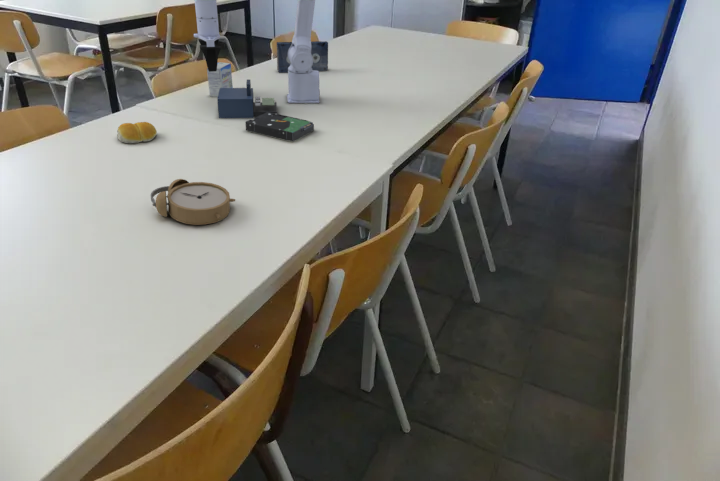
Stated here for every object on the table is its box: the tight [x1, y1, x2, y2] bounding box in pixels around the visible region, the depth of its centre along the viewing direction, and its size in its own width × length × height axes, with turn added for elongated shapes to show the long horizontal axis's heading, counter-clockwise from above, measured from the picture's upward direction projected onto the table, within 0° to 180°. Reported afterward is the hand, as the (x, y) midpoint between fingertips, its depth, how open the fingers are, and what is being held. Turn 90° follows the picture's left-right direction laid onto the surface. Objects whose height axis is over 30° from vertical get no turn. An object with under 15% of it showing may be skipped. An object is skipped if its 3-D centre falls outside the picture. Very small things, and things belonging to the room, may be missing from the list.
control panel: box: [253, 101, 278, 118], centre depth 155 cm, size 15×9×3 cm, turn 99°
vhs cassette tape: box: [276, 40, 329, 74], centre depth 195 cm, size 18×3×10 cm, turn 108°
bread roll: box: [116, 121, 158, 144], centre depth 134 cm, size 8×9×4 cm
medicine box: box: [206, 61, 234, 98], centre depth 167 cm, size 8×4×9 cm, turn 168°
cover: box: [216, 79, 255, 119], centre depth 153 cm, size 9×11×9 cm
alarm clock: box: [150, 178, 236, 226], centre depth 103 cm, size 11×5×15 cm
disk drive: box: [245, 112, 315, 142], centre depth 142 cm, size 10×3×15 cm
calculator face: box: [254, 96, 275, 106], centre depth 154 cm, size 5×8×1 cm, turn 9°
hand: (211, 67), depth 157 cm, fingers open, 7 cm apart
